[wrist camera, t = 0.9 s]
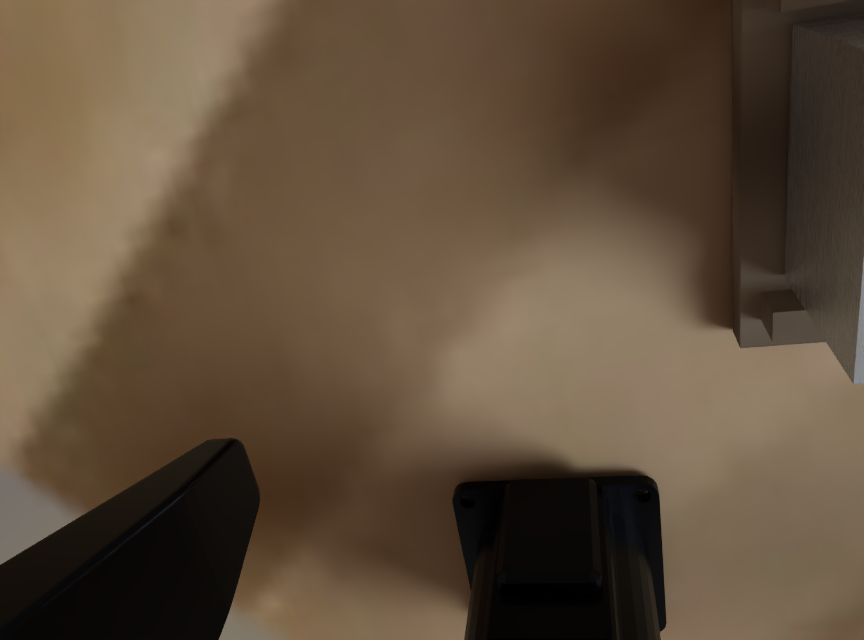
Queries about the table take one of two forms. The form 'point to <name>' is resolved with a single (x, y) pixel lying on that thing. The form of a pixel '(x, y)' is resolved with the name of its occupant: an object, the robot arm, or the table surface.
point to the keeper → (828, 183)
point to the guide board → (766, 167)
